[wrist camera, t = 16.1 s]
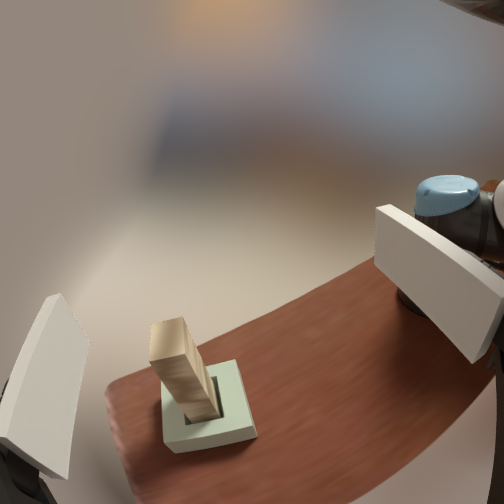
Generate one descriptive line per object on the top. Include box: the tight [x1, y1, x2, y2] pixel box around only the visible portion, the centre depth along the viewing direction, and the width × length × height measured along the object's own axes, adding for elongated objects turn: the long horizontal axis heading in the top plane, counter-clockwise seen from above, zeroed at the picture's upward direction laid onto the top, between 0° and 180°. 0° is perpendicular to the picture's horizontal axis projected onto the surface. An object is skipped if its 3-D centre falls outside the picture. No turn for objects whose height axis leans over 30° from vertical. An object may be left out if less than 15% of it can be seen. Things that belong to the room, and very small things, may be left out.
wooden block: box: [149, 317, 223, 424], centre depth 34 cm, size 4×6×16 cm, turn 13°
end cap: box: [161, 359, 258, 454], centre depth 37 cm, size 12×12×4 cm
